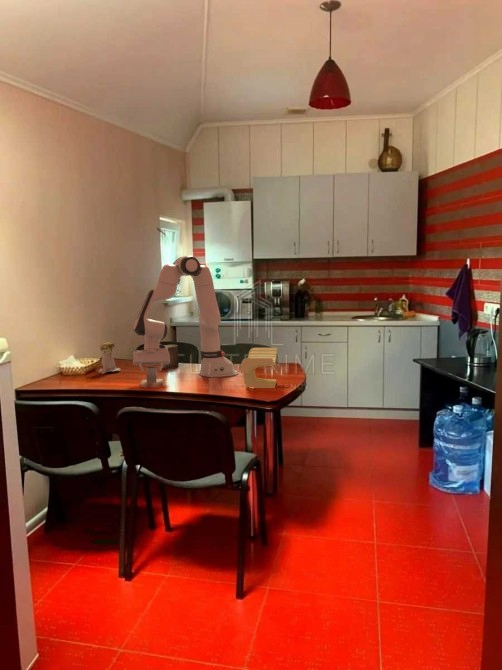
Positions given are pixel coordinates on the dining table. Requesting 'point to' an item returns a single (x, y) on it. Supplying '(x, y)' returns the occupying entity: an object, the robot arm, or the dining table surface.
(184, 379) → the dining table surface
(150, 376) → the grey rectangular block
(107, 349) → the beige sitting figure
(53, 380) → the dining table surface
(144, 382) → the post
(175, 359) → the pillar candle
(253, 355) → the wooden slatted rack
